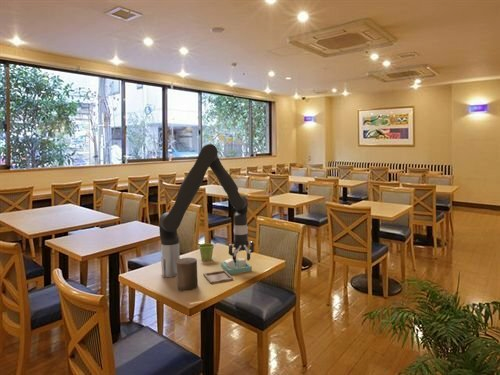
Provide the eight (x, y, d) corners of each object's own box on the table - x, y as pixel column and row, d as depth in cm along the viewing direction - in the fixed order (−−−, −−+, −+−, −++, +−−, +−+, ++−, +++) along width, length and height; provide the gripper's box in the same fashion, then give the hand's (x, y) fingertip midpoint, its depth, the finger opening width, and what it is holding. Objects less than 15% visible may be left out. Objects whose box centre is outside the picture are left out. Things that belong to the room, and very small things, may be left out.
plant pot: (206, 256, 219) (205, 242, 218) (217, 258, 213) (217, 244, 212) (195, 260, 211) (195, 246, 210) (207, 263, 206) (206, 248, 205)
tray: (210, 284, 174) (210, 282, 173) (203, 276, 185) (203, 273, 185) (233, 281, 178) (233, 278, 178) (225, 272, 190) (225, 269, 190)
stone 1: (229, 271, 190) (226, 262, 189) (226, 268, 194) (224, 260, 193) (235, 268, 192) (233, 260, 191) (233, 266, 195) (231, 257, 194)
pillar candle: (199, 290, 167) (198, 259, 166) (178, 292, 165) (177, 261, 163) (196, 283, 177) (195, 253, 175) (176, 285, 174) (175, 255, 172)
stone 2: (239, 269, 193) (238, 260, 192) (236, 267, 196) (236, 258, 196) (245, 268, 194) (245, 259, 193) (243, 266, 198) (243, 257, 197)
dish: (229, 275, 186) (228, 270, 185) (221, 267, 198) (221, 262, 197) (251, 271, 191) (251, 266, 190) (242, 264, 203) (242, 259, 202)
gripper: (230, 235, 187) (231, 265, 189) (255, 232, 192) (256, 261, 194) (226, 232, 193) (227, 261, 196) (250, 229, 199) (250, 257, 201)
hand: (241, 261), depth 195 cm, fingers open, 7 cm apart
